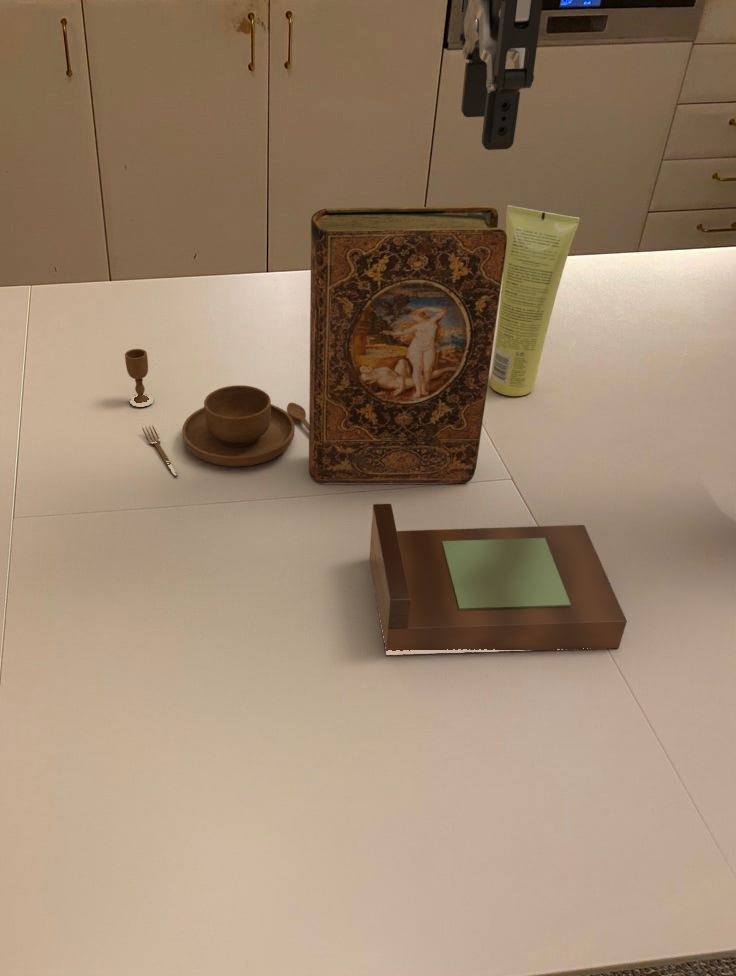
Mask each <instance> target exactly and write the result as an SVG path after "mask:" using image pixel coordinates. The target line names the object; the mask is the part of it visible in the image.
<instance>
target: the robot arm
mask: <svg viewBox="0 0 736 976" xmlns="http://www.w3.org/2000/svg"><path fill="white" fill-rule="evenodd" d="M543 2H544V1H543V0H463V8H462V18H461V28H460V33H459V38H458V40H459V43H460V47H463V48H462V56H463V61H468V62H465V66H464V77H463V85H462V86H463V87H462V96H461V106H460V110H461V113H462V114H463V116H464V117H465V118H483V123H482V135H481V144H482V146H483V148H484V149H486V150H487V151H495V150H496V151H497V150H499V151H500V150H508V149H510V148H511V147H513V145H514V142H515V135H516V126H517V119H518V113H519V112H518V111H519V105H520V96H521V93H524V91H525V89H531V88H532V85H533V83H534V80H535V79H534V78H535V74H534V72H535V67H536V66H535V65H536V57H537V48H538V41H539V35H540V33H539V32H540V26H541V25H540V24H541V18H542V17H541V16H542V9H543ZM507 60H508V61H512V62H513V63H514V64H513V65H514V68H506V67H507V66H506V65H507Z"/></svg>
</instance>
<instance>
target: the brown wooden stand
mask: <svg viewBox="0 0 736 976" xmlns="http://www.w3.org/2000/svg"><path fill="white" fill-rule="evenodd" d="M371 515H372V516H371V527H370V528H371V529H370V531H371V532H370V543H369V564H370V570H371V575H372V581H374V582H373V587H374V586H375V588H374V592H375V591H376V594H375V598H376V597H377V600H376V604H377V603H378V606H377V610H378V609H379V612H378V615H379V614H380V618H379V621H380V620H381V624H380V626H381V625H382V630H383V636H384V641H385V647H386V651H388V650H392V651H396V650H400V651H403V650H409V651H410V650H447V649H448V650H453V649H455V650H458V649H461V650H463V649H467V650H469V649H470V650H474V649H475V650H479V649H481V650H484V649H487V650H493V649H495V650H557V649H560V650H559V651H562V650H561V649H564V650H563V651H566V650H565V649H568V650H567V651H570V650H569V649H572V650H571V651H574V650H573V649H583V648H584V649H587V648H588V650H607V649H606V648H609V649H608V650H612V649H611V648H618V649H620V645H621V642H622V638H623V636H624V632H625V629H626V625H627V623H628V622H627V621H628V620H627V619H626V616H625V613H624V611H623V609H622V607H621V605H620V603H619V601H618V598H617V596H616V593H615V591H614V589H613V587H612V584H611V582H610V580H609V578H608V575H607V573H606V571H605V568H604V567H603V566H604V565H603V564H602V562H601V560H600V557H599V555H598V553H597V550H596V548H595V547H594V544H593V542H592V540H591V537H590V535H589V532H588V529H586V528H587V527H586V526H585V524H569V525H567V524H566V525H565V524H564V525H539V526H538V525H537V526H508V527H506V526H505V527H479V528H478V527H475V528H474V527H473V528H448V529H445V528H444V529H420V530H419V529H417V530H416V529H415V530H413V529H412V530H397V525H396V521H395V516H394V511H393V507H392V503H373V504H372V514H371ZM590 648H591V649H590ZM594 648H595V649H594ZM597 648H599V649H597ZM601 648H602V649H601ZM604 648H605V649H604ZM557 651H558V650H557Z"/></svg>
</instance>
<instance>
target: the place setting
mask: <svg viewBox="0 0 736 976" xmlns="http://www.w3.org/2000/svg"><path fill="white" fill-rule="evenodd" d="M124 360H125V366H126V372H127V374H128V376H129V377H130V378H132V379H134V381H135V387H134V391H135V393H136V395H138V396H137V397H135V398H134V401H135V402H136V403H142V402H147V400H149V398H148V397H147V396H145V395H146V394H145V395H143V394H144V393H145V391H146V388H145V386H144V383H143V381H144V379H143V378H145V377H147V375H148V372H149V359H148V352H147V351H146V350H145V349H141V348H133V349H129V350H127V351H126V352H125V353H124ZM306 415H307V413H306V410H305V408H303V406H301V405H299V404H298V403H296V402H289V403H288V404H287V406H286V411H285V410H284V409H282V408H281V407H279V406H278V405H274V404H272V400H271V397H270V395H269V394H268V393H267V392H265V391H264V390H262V389H260V388H258V387H255V386H251V385H238V384H237V385H228V386H224V387H220V388H218V389H214V390H213V391H212V392H210V393H209V394H208V395H207V396H206V397H205V398H204V400H203V407H201V408H199V409H198V410H195V411H194V412H192V414H191V415H189V416H188V417H187V418H186V420H185V421H184V423H183V424H182V428H181V429H182V430H181V433H182V438H183V441H184V444H185V446H186V448H187V449H188V450H189V451H190V452H191V453H192V454H193V455H194V456H196V457H197V458H199V459H201V460H203V461H205V462H208V463H210V464H214V465H218V466H224V467H248V466H255V465H259V464H262V463H266V462H268V461H270V460H273V459H275V458H277V457H279V456H280V455H281V454H282V453H284V452H285V451H286V450H287V449H288V448H289V447H290V445H291V444H292V442H293V440H294V436H295V430H296V428H295V427H296V426H295V422H294V420H296V421H300V422H301V423H302V424H303V425H304V426H305V428H306V430H307V431H308V432H309V421H308V420H307V419H306ZM141 428H142V431H143V434H144V437H145V439H146V441H147V440H149V442H155V441H156V440H157V441H156V442H157V443H153V444H154V445H153V446H155V448H156V449H157V451H158V453H159V455H160V454H161V455H160V456H161V458H162V457H163V458H162V460H163V459H164V460H163V462H165V461H170V459H169V457H168V455H167V454H166V453H165V451H164V449H163V448H162V446H161V444H159V443H161V440H160V441H158V439H160V437H159V434H158V433H157V431H156V429H155V427H154V425H153V424H151V426H150V425H148V427H147V426H145V429H144V427H141ZM148 429H149V430H148ZM152 429H153V430H152ZM145 430H146V431H145ZM156 438H157V439H156ZM151 440H153V441H151ZM166 463H169V464H167V465H170V464H172V462H171V461H170V462H166ZM166 463H165V464H166ZM167 465H166V466H167ZM170 470H171V469H170ZM170 470H169V471H170Z"/></svg>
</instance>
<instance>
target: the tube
mask: <svg viewBox="0 0 736 976" xmlns="http://www.w3.org/2000/svg"><path fill="white" fill-rule="evenodd" d="M505 210H506V211H505V232H506V235H507V246H506V254H505V262H504V269H503V276H502V284H501V291H500V299H499V308H498V317H497V325H496V333H495V335H496V336H495V344H494V351H493V359H492V365H491V373H490V378H489V379H490V380H489V385H490V387H491V389H492V390H494V391H495V392H496V393H499V394H501V395H503V396H509V397H520V396H525V395H528V394H530V393H532V392H533V390H534V387H535V386H536V385H535V384H536V379H537V377H538V376H537V375H538V372H539V367H540V366H539V365H540V362H541V358H542V353H543V350H544V346H545V341H546V337H547V333H548V329H549V325H550V321H551V317H552V313H553V309H554V305H555V301H556V298H557V294H558V291H559V287H560V283H561V280H562V277H563V274H564V269H565V266H566V262H567V259H568V256H569V253H570V250H571V246H572V243H573V241H574V238H575V234H576V233H577V229H578V227H579V224H580V219H581V218H580V217H577V216H571V215H565V214H560V213H559V214H558V213H552V212H548V211H542V210H536V209H531V208H525V207H520V206H516V205H515V206H514V205H509V204H508V205H507V206H506V209H505Z"/></svg>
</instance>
